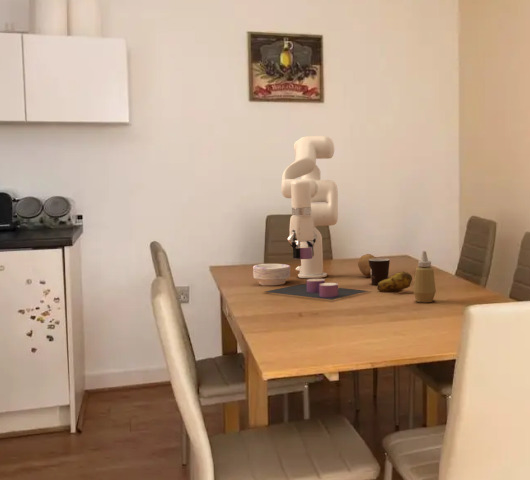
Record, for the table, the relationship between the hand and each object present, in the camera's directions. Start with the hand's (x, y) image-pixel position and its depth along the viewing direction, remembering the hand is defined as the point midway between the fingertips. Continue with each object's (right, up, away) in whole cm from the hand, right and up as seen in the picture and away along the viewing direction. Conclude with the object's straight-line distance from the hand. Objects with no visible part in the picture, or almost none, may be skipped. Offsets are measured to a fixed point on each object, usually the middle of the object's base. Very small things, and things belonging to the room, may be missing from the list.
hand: (303, 257), depth 307 cm
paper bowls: (-14, -10, +13) cm, 22 cm away
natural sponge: (+25, -6, +30) cm, 39 cm away
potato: (+36, -15, -10) cm, 41 cm away
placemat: (+6, -15, -8) cm, 18 cm away
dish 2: (+12, -16, -19) cm, 28 cm away
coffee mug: (+30, -10, +12) cm, 34 cm away
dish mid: (+6, -14, -8) cm, 17 cm away
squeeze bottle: (+47, -19, -29) cm, 59 cm away
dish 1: (0, 0, 0) cm, 0 cm away
